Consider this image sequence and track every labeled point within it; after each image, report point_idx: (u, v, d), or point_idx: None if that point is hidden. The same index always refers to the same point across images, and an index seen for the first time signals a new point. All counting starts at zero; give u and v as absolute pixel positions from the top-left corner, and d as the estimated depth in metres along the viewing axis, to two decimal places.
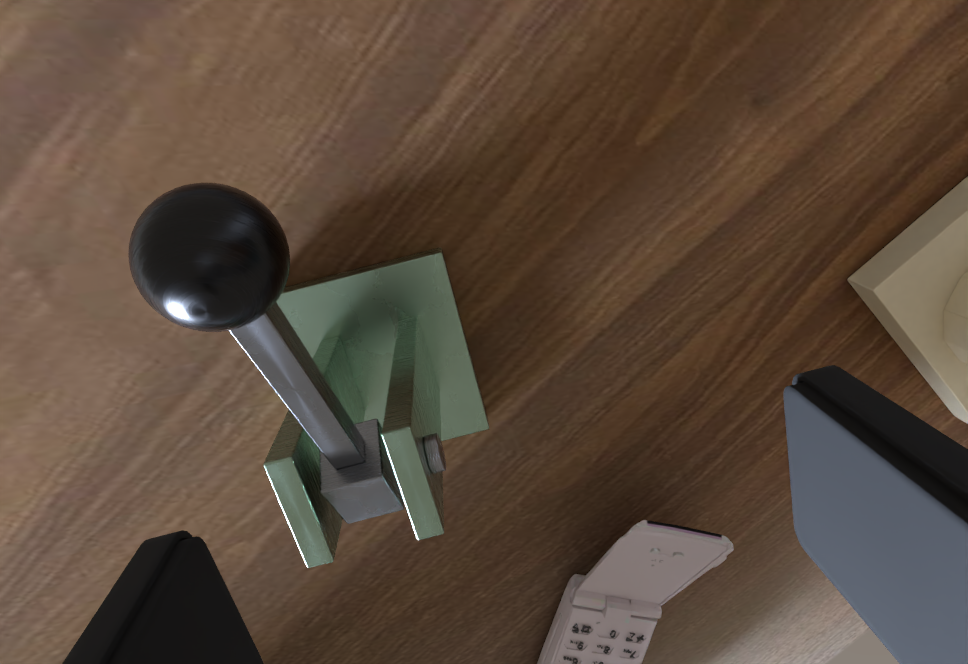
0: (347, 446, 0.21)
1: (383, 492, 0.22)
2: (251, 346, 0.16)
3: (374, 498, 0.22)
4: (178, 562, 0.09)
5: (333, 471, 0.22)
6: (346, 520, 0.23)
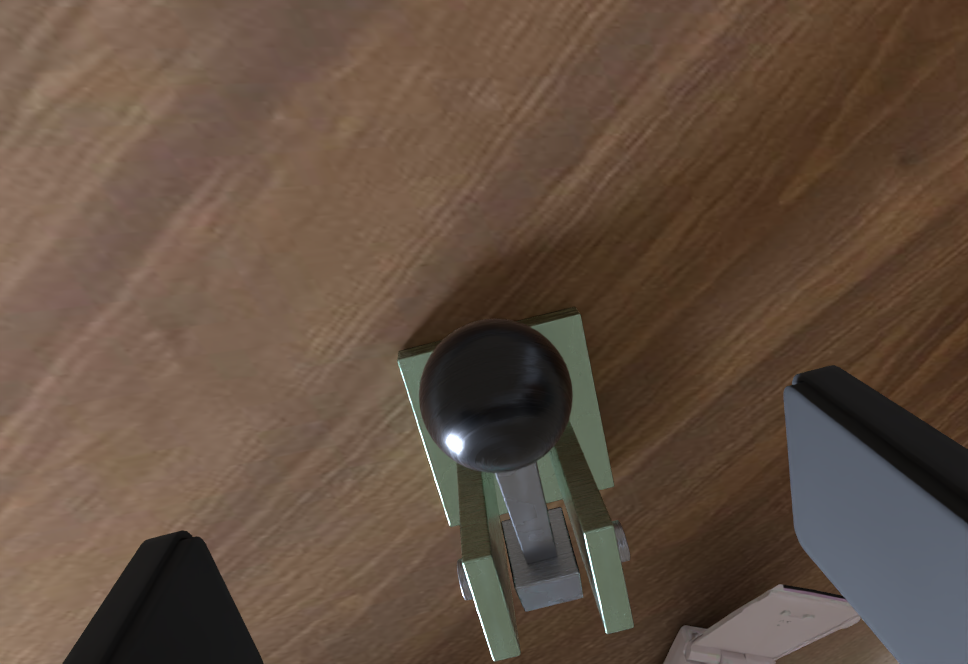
0: (548, 544, 0.20)
1: (572, 585, 0.21)
2: None
3: (561, 590, 0.22)
4: (178, 562, 0.09)
5: (525, 565, 0.21)
6: (526, 609, 0.23)
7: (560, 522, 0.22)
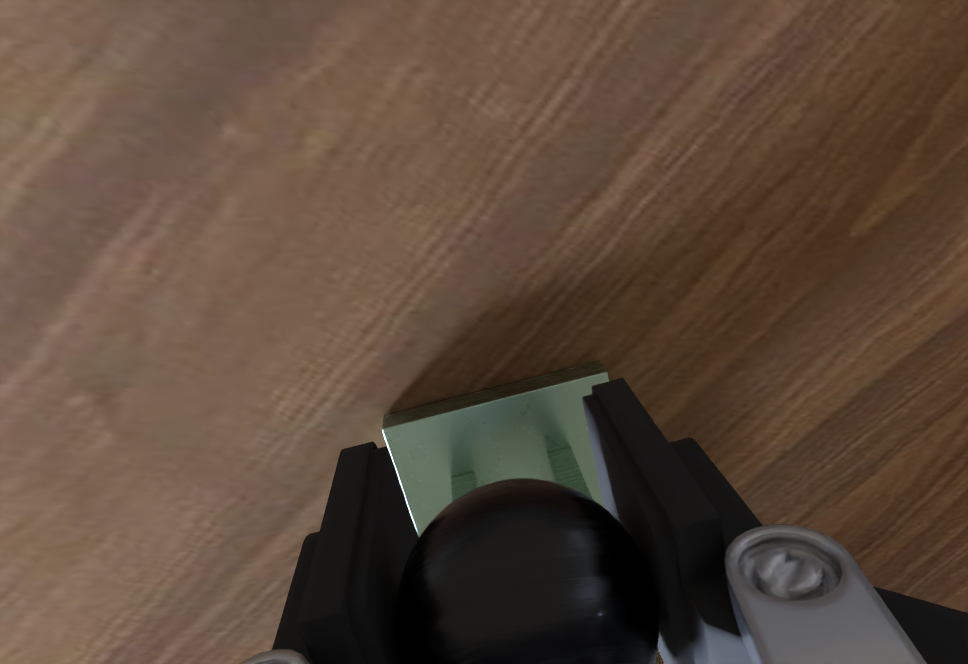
0: None
1: None
2: None
3: None
4: (382, 463, 0.10)
5: None
6: None
7: None
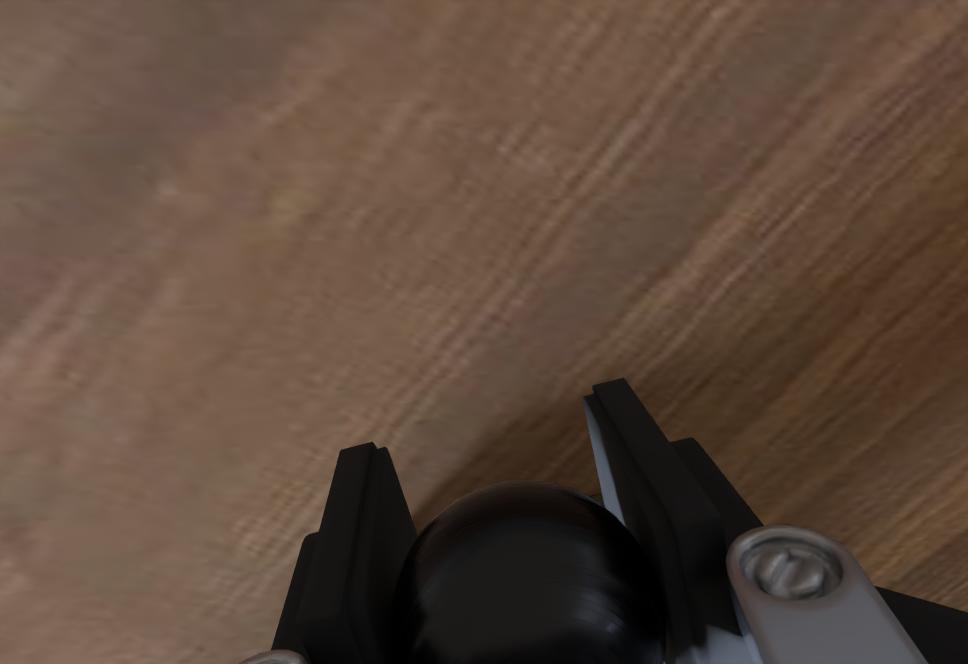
0: None
1: None
2: None
3: None
4: (381, 464, 0.10)
5: None
6: None
7: None
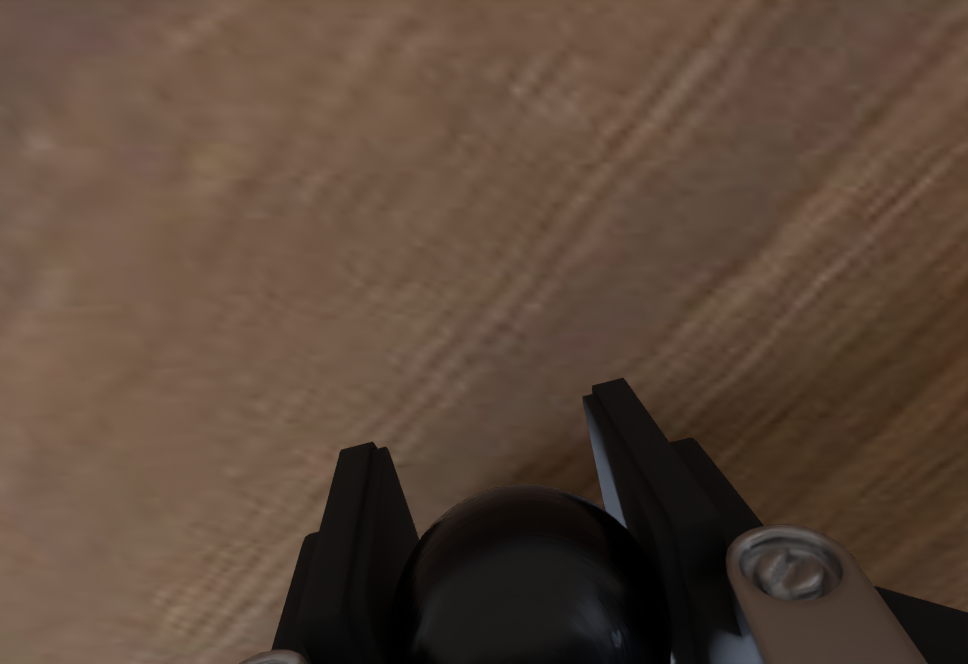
0: None
1: None
2: None
3: None
4: (381, 463, 0.10)
5: None
6: None
7: None
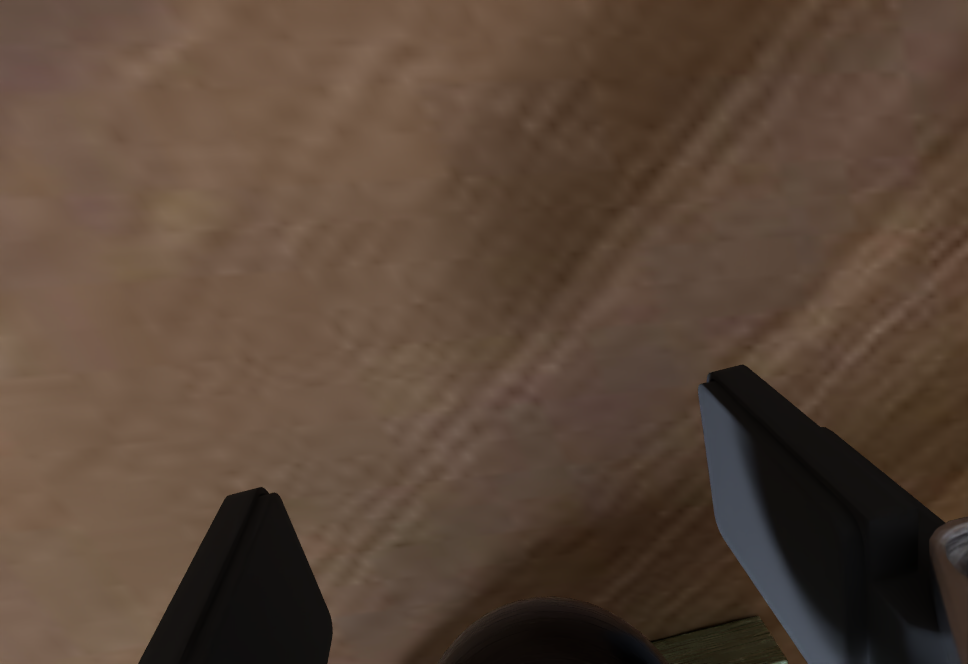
0: None
1: None
2: None
3: None
4: (263, 513, 0.09)
5: None
6: None
7: None
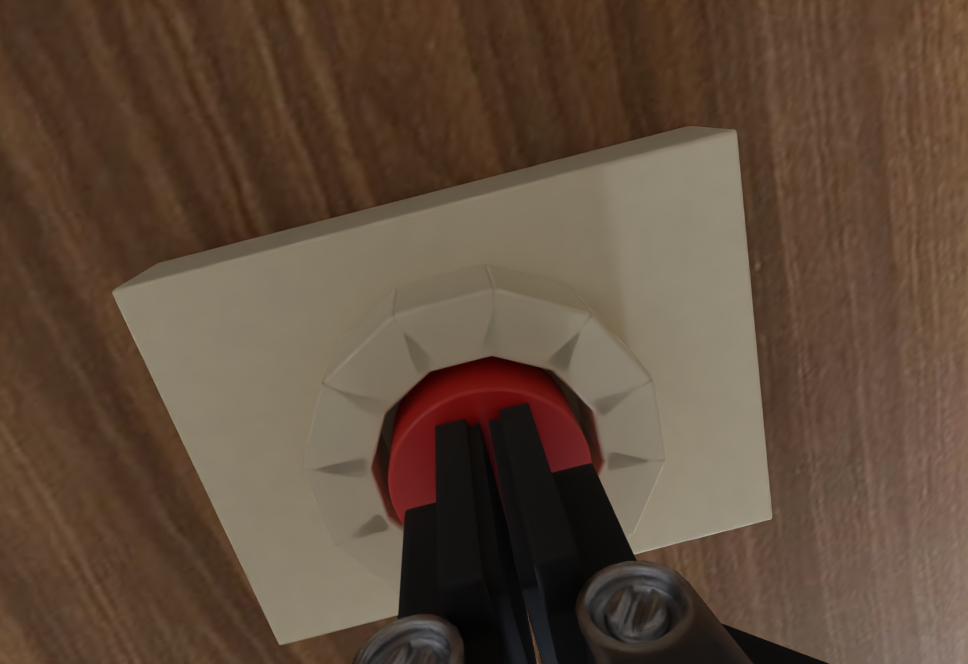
0: None
1: None
2: None
3: None
4: (481, 438, 0.10)
5: None
6: None
7: None
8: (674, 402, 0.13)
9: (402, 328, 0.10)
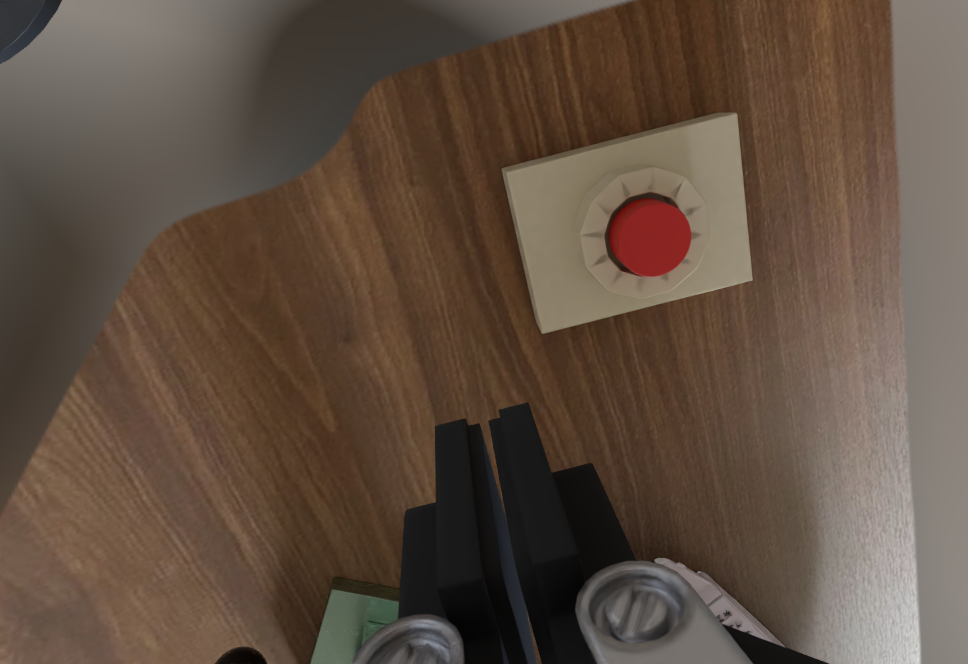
0: None
1: None
2: None
3: None
4: (481, 438, 0.10)
5: None
6: None
7: None
8: (712, 223, 0.33)
9: (621, 180, 0.30)
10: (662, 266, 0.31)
